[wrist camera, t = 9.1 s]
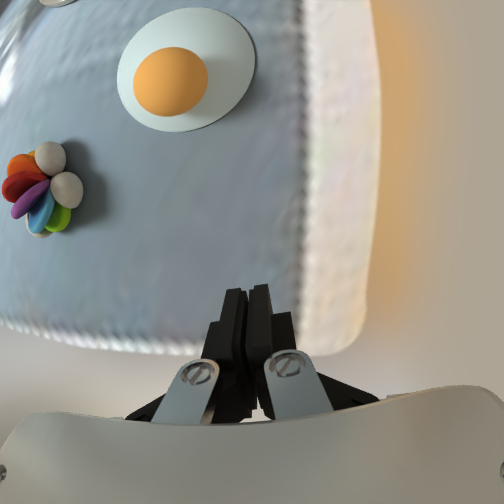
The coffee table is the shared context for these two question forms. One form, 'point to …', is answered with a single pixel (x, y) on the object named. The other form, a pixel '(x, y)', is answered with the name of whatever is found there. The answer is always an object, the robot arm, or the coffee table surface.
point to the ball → (170, 81)
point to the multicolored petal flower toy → (42, 189)
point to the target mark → (208, 50)
